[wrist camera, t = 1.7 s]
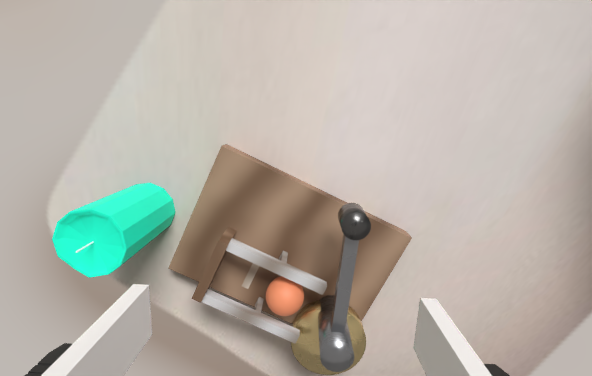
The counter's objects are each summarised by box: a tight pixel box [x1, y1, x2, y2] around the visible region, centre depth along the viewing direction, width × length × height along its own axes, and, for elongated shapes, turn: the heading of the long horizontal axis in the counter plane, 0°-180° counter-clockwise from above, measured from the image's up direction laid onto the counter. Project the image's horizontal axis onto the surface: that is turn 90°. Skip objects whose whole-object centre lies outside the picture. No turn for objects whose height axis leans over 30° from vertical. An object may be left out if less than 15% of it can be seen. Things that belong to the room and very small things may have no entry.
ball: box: [266, 276, 304, 316], centre depth 34 cm, size 4×4×4 cm
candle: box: [52, 183, 175, 277], centre depth 31 cm, size 6×6×12 cm
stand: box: [169, 144, 412, 343], centre depth 34 cm, size 22×15×6 cm
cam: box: [291, 203, 371, 375], centre depth 32 cm, size 10×19×8 cm, turn 154°
